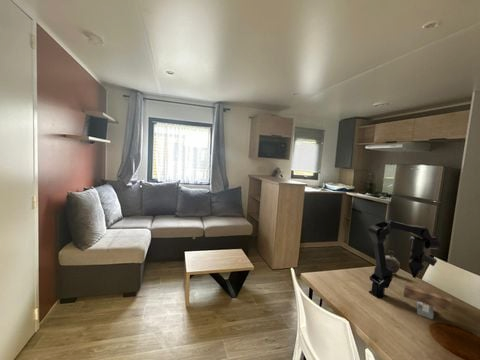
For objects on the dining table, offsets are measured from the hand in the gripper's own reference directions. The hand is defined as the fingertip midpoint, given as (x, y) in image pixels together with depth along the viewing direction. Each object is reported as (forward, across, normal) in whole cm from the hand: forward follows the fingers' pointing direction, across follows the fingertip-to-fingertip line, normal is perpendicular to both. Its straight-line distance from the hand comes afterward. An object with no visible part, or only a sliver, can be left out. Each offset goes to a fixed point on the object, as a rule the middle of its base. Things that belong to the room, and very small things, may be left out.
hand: (414, 274), depth 126 cm
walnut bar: (+7, -15, -5) cm, 17 cm away
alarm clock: (+12, +21, +13) cm, 28 cm away
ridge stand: (+12, -15, -5) cm, 20 cm away
